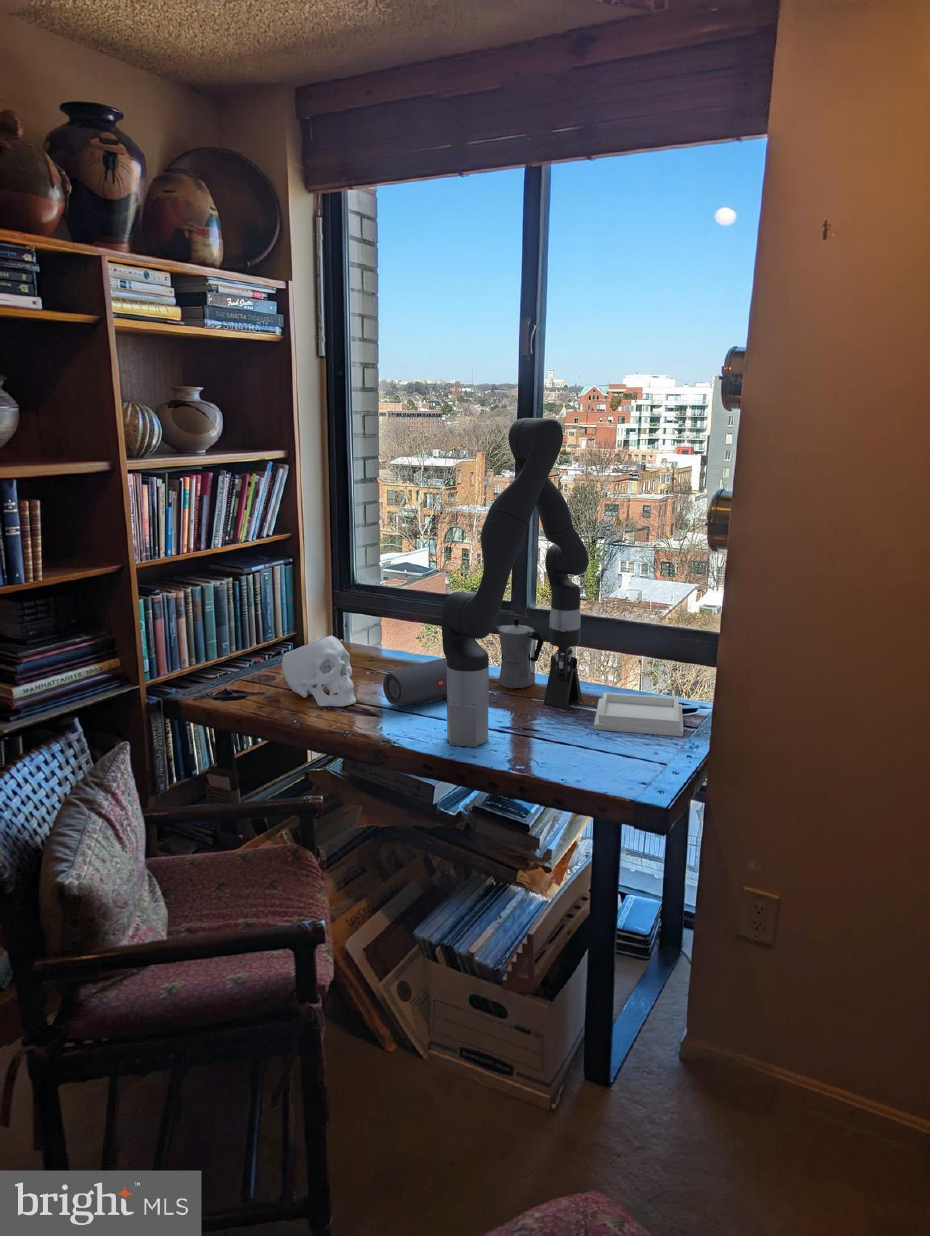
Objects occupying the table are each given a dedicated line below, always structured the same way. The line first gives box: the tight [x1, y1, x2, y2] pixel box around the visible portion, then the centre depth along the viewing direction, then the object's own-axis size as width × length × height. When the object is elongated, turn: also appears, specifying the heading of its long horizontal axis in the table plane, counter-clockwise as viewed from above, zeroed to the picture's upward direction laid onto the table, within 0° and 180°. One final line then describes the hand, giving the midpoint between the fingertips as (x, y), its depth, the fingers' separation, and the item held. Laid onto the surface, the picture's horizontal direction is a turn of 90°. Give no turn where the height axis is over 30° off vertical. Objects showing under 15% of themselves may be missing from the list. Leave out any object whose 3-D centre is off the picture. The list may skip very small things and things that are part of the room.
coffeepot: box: [495, 617, 545, 689], centre depth 223 cm, size 15×9×18 cm, turn 49°
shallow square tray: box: [593, 691, 684, 737], centre depth 200 cm, size 18×20×3 cm
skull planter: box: [281, 635, 357, 707], centre depth 213 cm, size 14×20×19 cm
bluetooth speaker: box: [382, 657, 447, 707], centre depth 212 cm, size 23×9×10 cm, turn 129°
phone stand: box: [543, 653, 583, 710], centre depth 210 cm, size 9×6×12 cm, turn 144°
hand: (563, 691), depth 211 cm, fingers closed on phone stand, 2 cm apart
